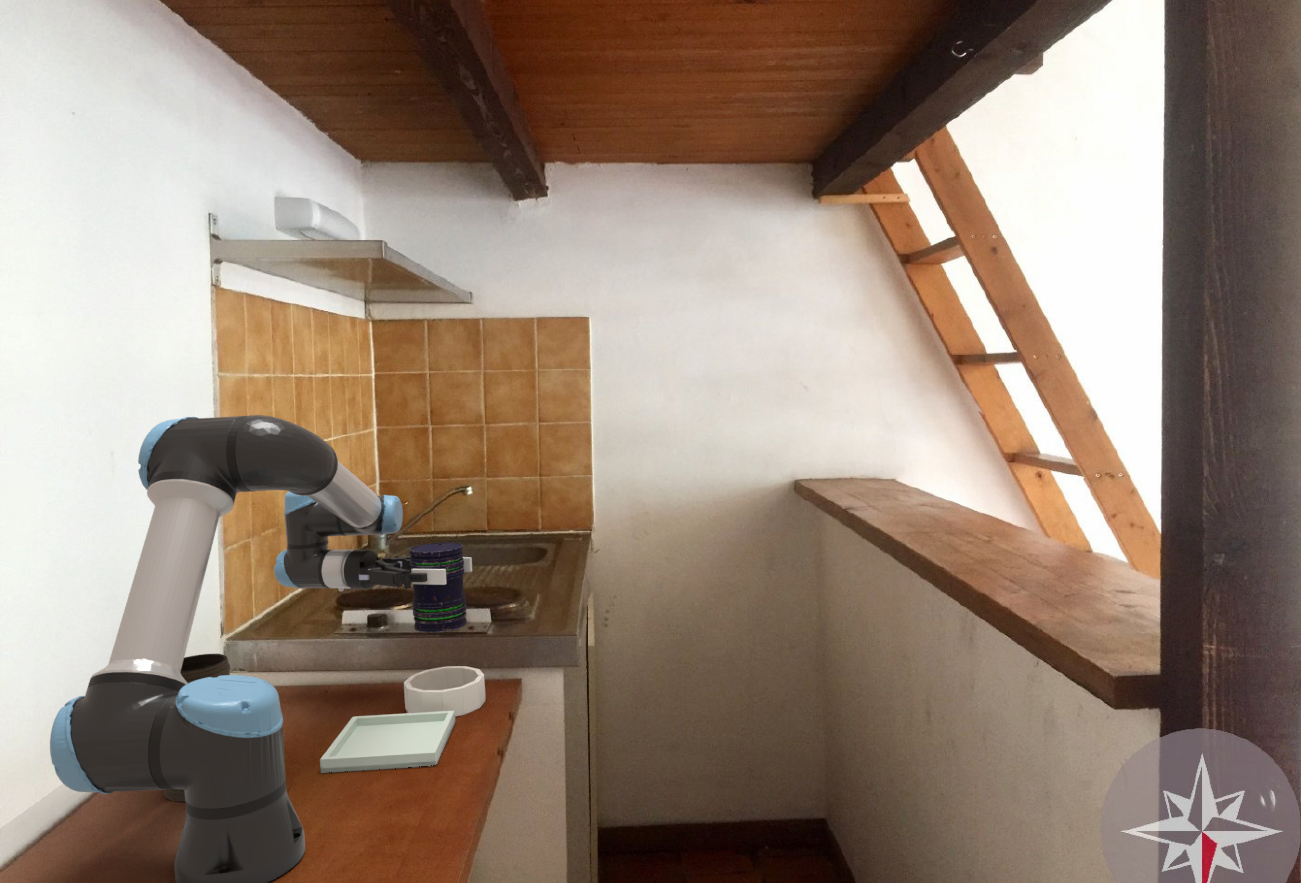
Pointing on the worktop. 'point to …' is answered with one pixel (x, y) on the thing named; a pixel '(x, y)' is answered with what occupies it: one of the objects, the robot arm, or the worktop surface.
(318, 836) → the worktop surface
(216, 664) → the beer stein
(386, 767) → the tray
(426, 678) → the holder ring
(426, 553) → the rusty blue drum
